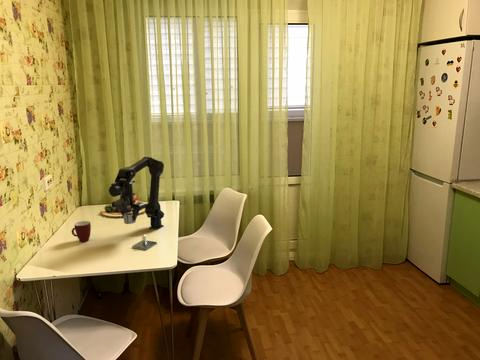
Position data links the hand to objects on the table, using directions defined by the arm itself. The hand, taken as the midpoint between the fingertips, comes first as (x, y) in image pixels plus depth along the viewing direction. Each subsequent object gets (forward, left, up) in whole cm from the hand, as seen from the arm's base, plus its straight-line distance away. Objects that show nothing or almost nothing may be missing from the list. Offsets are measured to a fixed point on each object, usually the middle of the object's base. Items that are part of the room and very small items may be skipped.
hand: (129, 220), depth 212 cm
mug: (+11, -25, -11) cm, 29 cm away
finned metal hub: (+5, +12, -11) cm, 17 cm away
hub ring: (0, 0, -1) cm, 1 cm away
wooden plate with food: (-42, -38, -12) cm, 58 cm away
